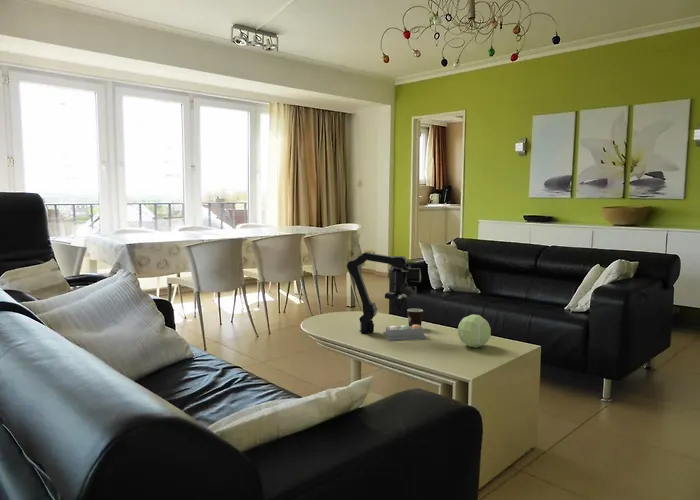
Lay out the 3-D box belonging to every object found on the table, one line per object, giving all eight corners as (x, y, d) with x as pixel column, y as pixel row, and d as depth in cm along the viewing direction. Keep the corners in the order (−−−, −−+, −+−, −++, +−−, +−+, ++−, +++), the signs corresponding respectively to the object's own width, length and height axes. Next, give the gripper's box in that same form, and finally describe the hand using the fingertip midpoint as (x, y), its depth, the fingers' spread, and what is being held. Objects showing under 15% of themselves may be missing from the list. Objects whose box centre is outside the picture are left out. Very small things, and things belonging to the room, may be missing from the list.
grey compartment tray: (390, 340, 259) (390, 332, 258) (383, 334, 271) (383, 325, 271) (426, 339, 262) (426, 330, 262) (418, 332, 275) (418, 324, 274)
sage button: (402, 334, 264) (402, 327, 264) (400, 332, 268) (400, 325, 268) (409, 334, 265) (409, 326, 265) (407, 332, 269) (407, 324, 269)
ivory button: (390, 335, 263) (390, 327, 263) (388, 333, 267) (388, 325, 267) (398, 335, 264) (398, 327, 264) (396, 333, 268) (396, 325, 267)
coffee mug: (423, 330, 279) (424, 311, 278) (407, 330, 280) (407, 311, 279) (421, 325, 291) (421, 307, 290) (405, 324, 291) (405, 307, 290)
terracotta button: (413, 334, 265) (413, 326, 265) (411, 332, 269) (411, 324, 269) (421, 333, 266) (421, 326, 266) (418, 331, 270) (418, 324, 270)
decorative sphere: (452, 346, 248) (452, 315, 247) (467, 340, 260) (467, 310, 258) (480, 352, 239) (481, 320, 237) (495, 345, 250) (496, 315, 248)
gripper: (401, 284, 256) (401, 316, 257) (423, 280, 269) (423, 310, 271) (384, 282, 263) (383, 312, 265) (406, 278, 277) (405, 307, 278)
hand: (399, 310), depth 269 cm, fingers closed
